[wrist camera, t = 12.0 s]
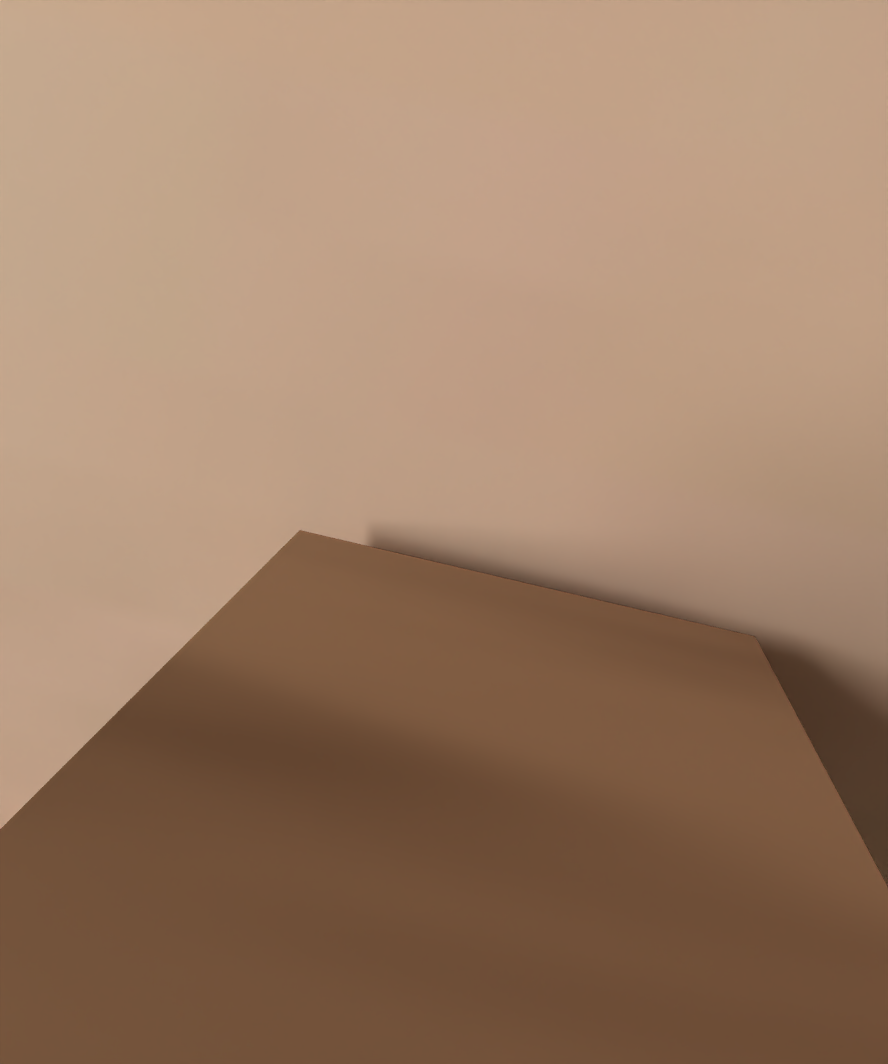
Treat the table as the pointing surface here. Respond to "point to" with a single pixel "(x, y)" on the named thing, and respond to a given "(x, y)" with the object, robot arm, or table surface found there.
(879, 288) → the table surface
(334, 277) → the table surface
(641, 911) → the walnut block
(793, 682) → the table surface
